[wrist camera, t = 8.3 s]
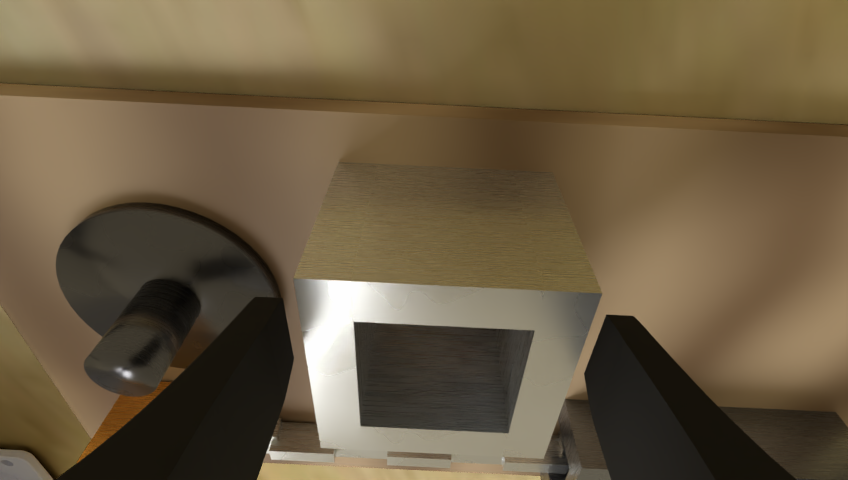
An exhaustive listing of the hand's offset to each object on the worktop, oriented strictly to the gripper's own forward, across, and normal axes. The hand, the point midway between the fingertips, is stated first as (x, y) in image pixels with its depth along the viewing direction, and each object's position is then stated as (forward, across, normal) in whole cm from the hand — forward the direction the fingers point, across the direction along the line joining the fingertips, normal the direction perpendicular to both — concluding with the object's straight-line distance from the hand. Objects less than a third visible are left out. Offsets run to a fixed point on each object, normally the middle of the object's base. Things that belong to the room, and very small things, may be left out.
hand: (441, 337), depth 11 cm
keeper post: (+3, +8, +2) cm, 9 cm away
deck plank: (+4, -1, +4) cm, 6 cm away
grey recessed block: (+3, 0, 0) cm, 3 cm away
